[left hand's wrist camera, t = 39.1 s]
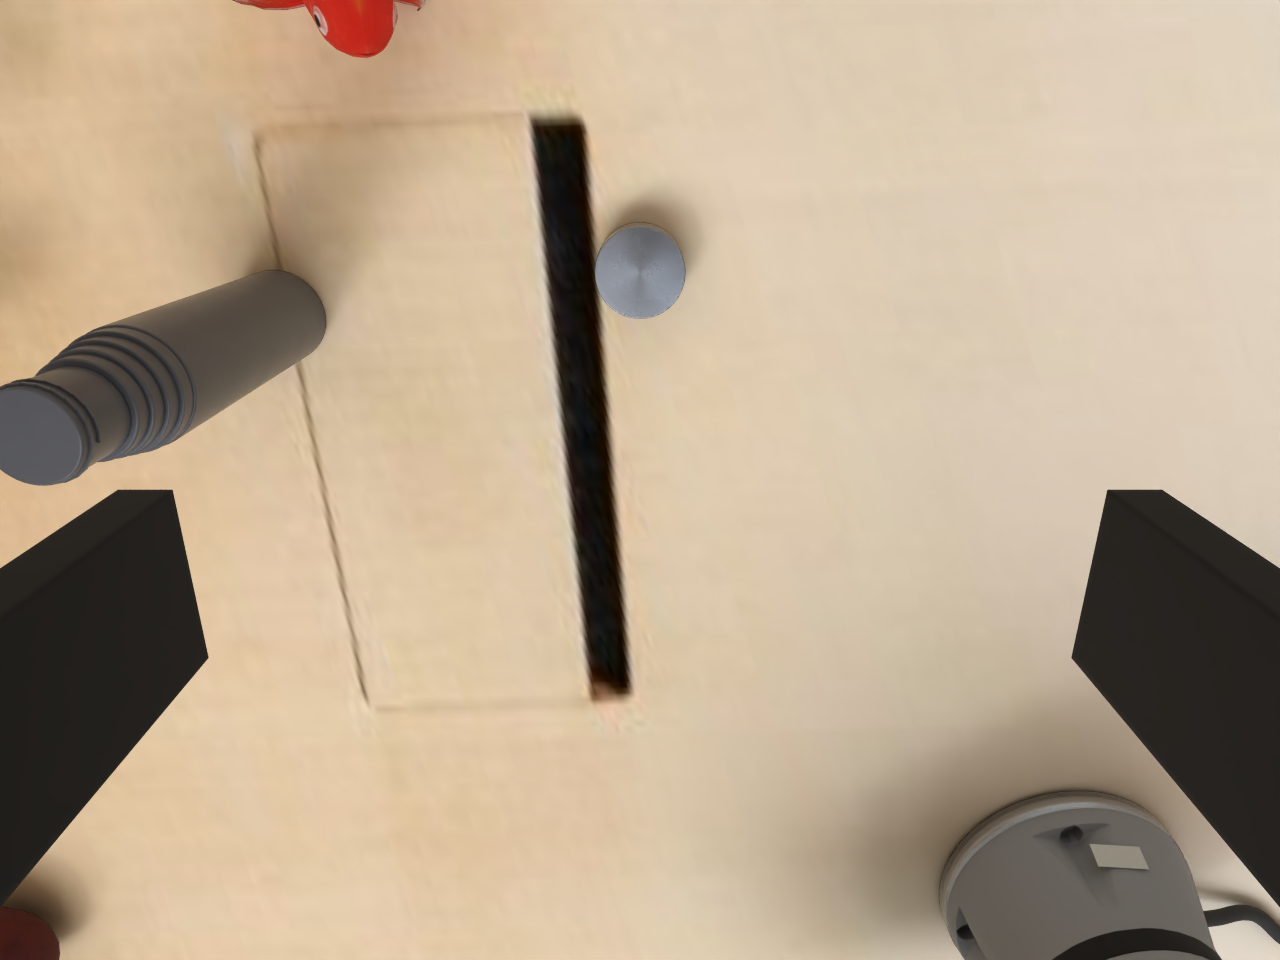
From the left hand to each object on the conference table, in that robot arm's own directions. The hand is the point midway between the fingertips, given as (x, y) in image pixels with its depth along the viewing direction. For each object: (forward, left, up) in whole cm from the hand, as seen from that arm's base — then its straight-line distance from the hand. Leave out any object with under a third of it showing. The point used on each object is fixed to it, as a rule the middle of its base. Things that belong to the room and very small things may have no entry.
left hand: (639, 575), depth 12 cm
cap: (0, 0, -30) cm, 30 cm away
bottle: (+14, +12, -32) cm, 37 cm away
